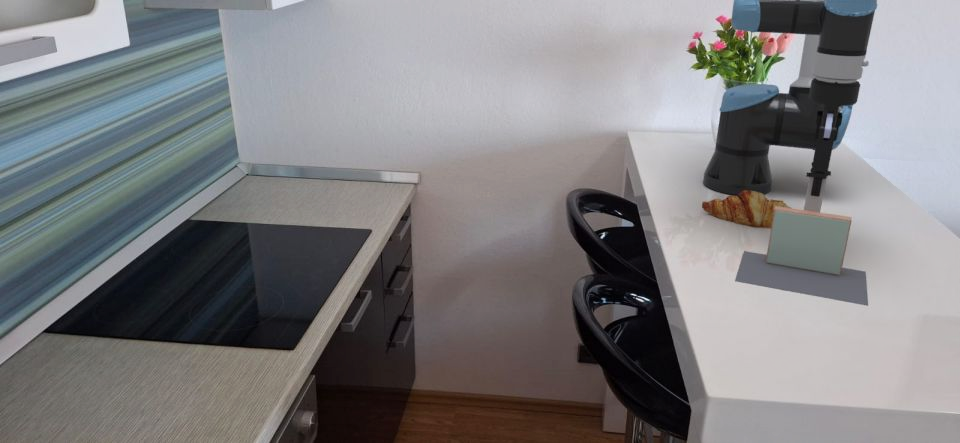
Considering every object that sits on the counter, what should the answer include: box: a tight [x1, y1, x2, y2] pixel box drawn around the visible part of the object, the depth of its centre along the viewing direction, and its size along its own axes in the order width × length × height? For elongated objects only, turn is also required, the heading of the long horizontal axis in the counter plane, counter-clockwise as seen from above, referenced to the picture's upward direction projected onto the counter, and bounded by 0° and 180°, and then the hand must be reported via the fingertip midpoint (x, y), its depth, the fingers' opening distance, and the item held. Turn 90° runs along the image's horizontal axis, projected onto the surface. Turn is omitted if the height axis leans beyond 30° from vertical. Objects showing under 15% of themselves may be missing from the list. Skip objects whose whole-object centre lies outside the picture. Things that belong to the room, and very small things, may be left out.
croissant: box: [701, 190, 792, 229], centre depth 151 cm, size 21×10×8 cm, turn 70°
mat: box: [734, 250, 869, 307], centre depth 126 cm, size 14×20×1 cm
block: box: [766, 206, 853, 275], centre depth 128 cm, size 2×12×10 cm, turn 66°
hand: (811, 211), depth 134 cm, fingers closed
